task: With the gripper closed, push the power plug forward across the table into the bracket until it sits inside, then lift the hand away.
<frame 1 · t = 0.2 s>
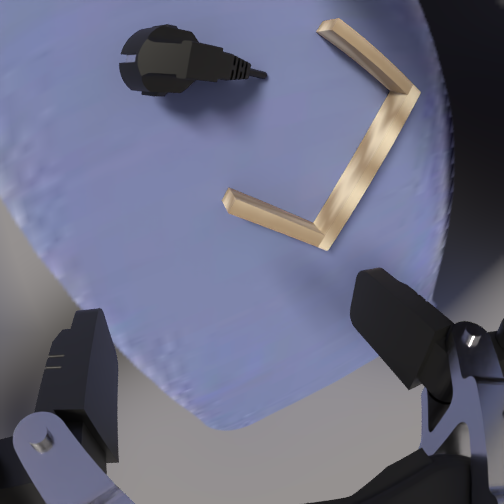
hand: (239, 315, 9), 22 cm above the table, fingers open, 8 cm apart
bracket: (316, 132, 30), on the table
power plug: (196, 65, 24), on the table
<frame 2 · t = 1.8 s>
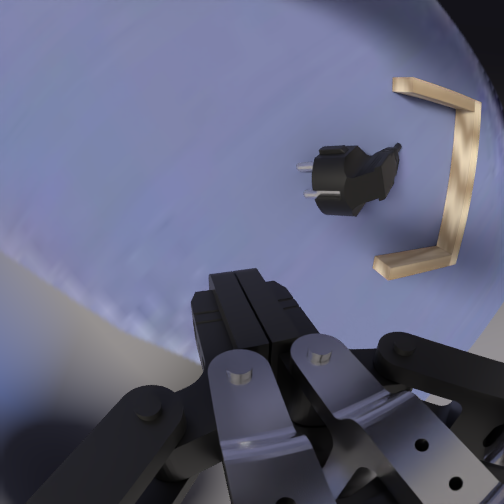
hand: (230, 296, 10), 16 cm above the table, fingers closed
bracket: (421, 178, 31), on the table
power plug: (349, 161, 28), on the table
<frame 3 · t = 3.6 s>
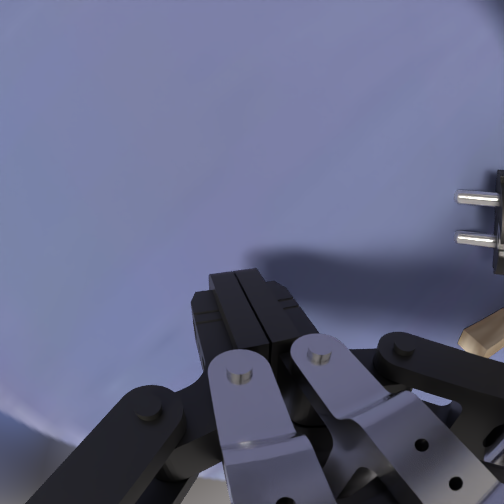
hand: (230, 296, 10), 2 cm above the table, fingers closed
power plug: (496, 187, 16), on the table
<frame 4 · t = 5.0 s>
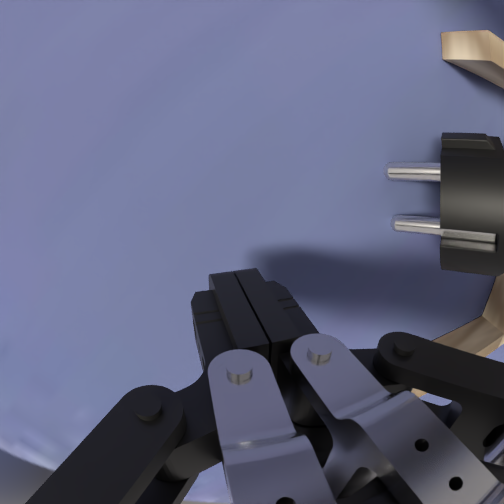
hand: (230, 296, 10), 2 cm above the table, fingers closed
bracket: (480, 222, 16), on the table
power plug: (455, 163, 14), on the table
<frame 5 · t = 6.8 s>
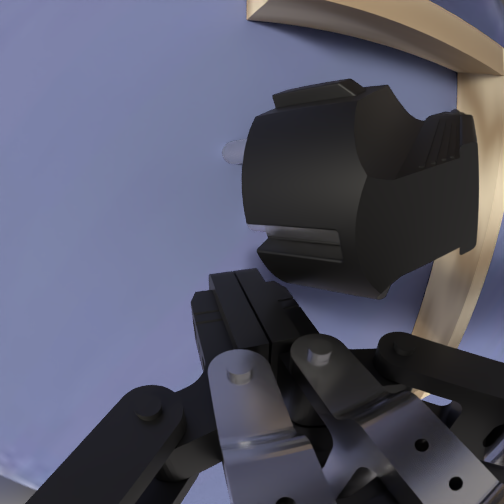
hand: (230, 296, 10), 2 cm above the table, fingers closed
bracket: (364, 246, 14), on the table
power plug: (362, 140, 12), on the table, touching bracket
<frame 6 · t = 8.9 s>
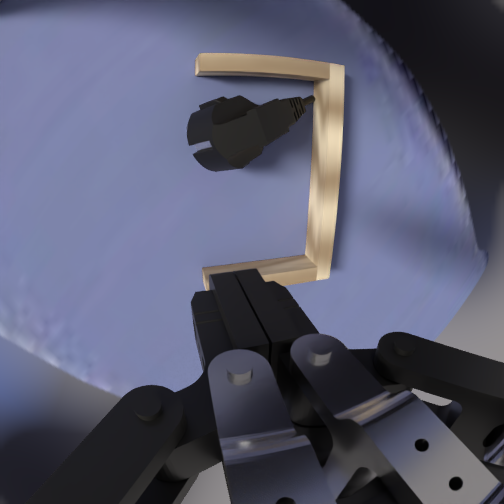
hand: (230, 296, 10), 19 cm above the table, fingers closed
bracket: (257, 172, 28), on the table
power plug: (251, 118, 26), on the table
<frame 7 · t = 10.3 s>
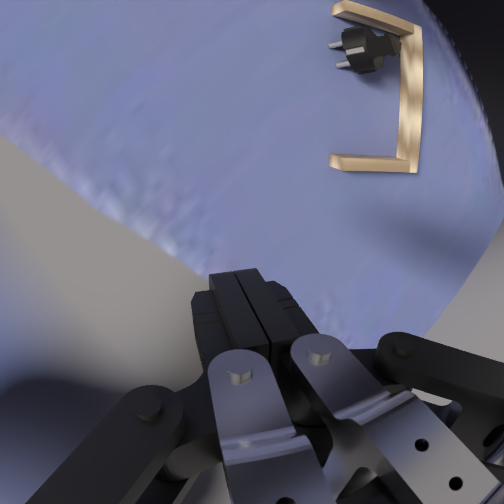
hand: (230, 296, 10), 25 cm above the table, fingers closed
bracket: (369, 88, 34), on the table
power plug: (365, 49, 32), on the table
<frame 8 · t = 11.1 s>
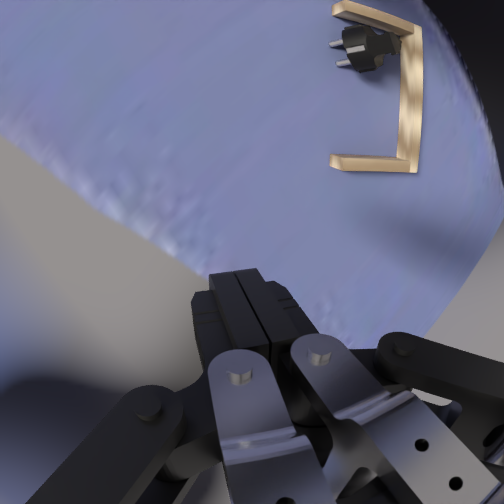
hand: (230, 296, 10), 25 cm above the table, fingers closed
bracket: (369, 88, 34), on the table
power plug: (365, 47, 31), on the table
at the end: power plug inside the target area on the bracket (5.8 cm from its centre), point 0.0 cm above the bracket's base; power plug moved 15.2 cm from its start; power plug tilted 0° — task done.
